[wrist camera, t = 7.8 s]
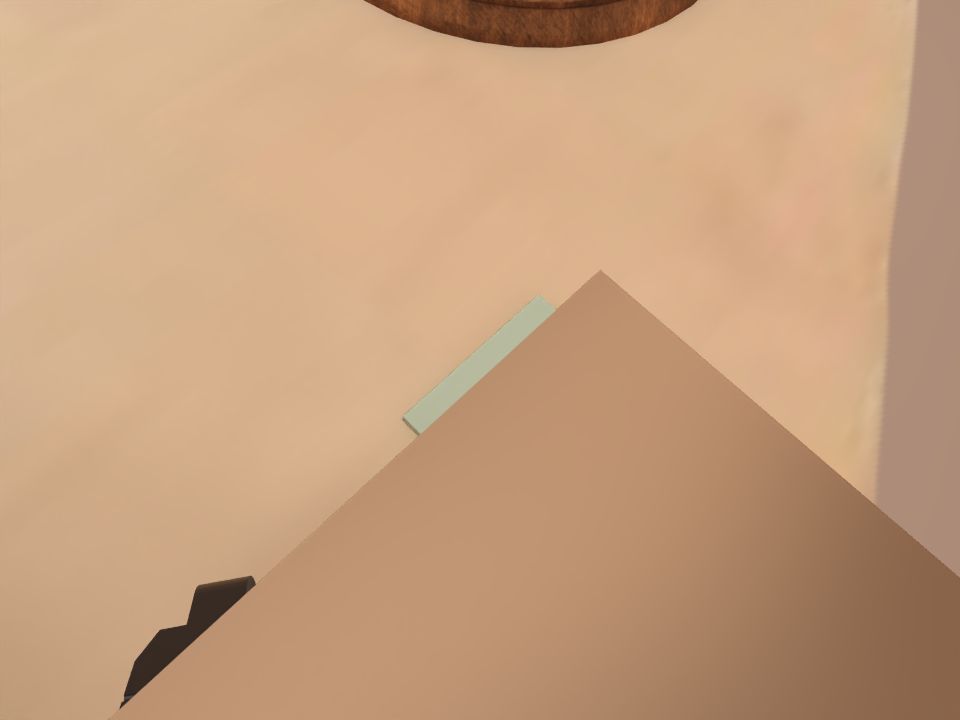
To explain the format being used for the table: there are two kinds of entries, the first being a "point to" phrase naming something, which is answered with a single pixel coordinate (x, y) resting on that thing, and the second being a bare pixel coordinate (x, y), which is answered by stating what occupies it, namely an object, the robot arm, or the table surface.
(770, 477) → the walnut block
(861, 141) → the table surface
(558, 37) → the cutting board
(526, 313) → the sage mat
